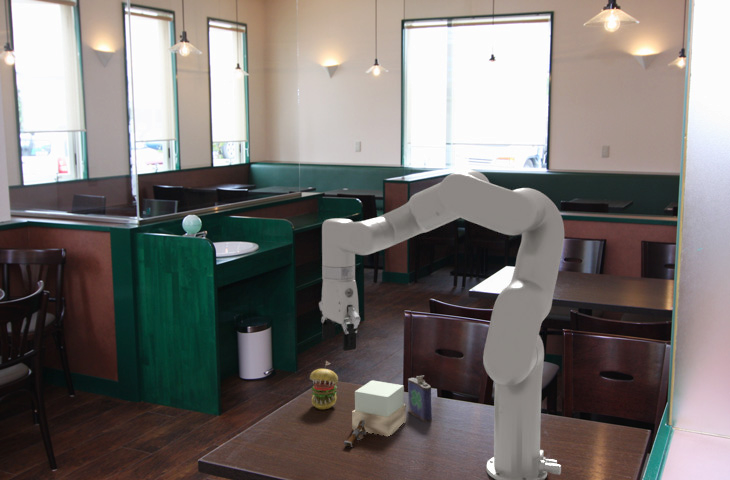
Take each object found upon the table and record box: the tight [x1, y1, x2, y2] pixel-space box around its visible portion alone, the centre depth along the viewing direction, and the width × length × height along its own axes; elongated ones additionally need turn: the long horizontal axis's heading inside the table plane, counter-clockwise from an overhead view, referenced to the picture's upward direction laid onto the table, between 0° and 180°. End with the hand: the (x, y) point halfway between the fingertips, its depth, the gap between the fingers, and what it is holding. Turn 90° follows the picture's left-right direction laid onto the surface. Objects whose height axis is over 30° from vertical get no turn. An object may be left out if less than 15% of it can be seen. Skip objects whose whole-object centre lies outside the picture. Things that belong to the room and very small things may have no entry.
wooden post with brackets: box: [343, 420, 368, 448], centre depth 164 cm, size 2×8×4 cm, turn 149°
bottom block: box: [351, 403, 407, 437], centre depth 173 cm, size 10×10×5 cm
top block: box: [354, 379, 405, 417], centre depth 172 cm, size 9×9×5 cm
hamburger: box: [309, 360, 339, 410], centre depth 186 cm, size 8×7×12 cm
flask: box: [407, 375, 433, 423], centre depth 179 cm, size 9×3×11 cm, turn 28°
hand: (338, 344), depth 163 cm, fingers open, 9 cm apart
